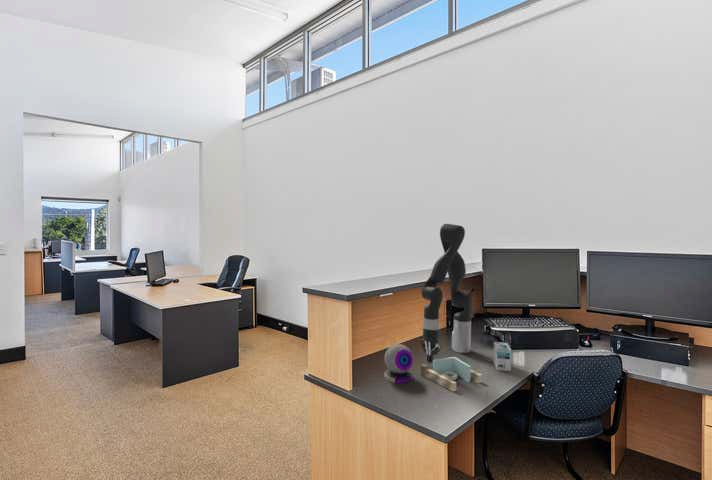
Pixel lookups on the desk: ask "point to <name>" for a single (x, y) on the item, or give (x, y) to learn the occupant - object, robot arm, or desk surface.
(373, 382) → the desk surface
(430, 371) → the rack
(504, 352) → the light bulb box
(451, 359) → the right angle wall
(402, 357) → the webcam
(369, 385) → the desk surface
